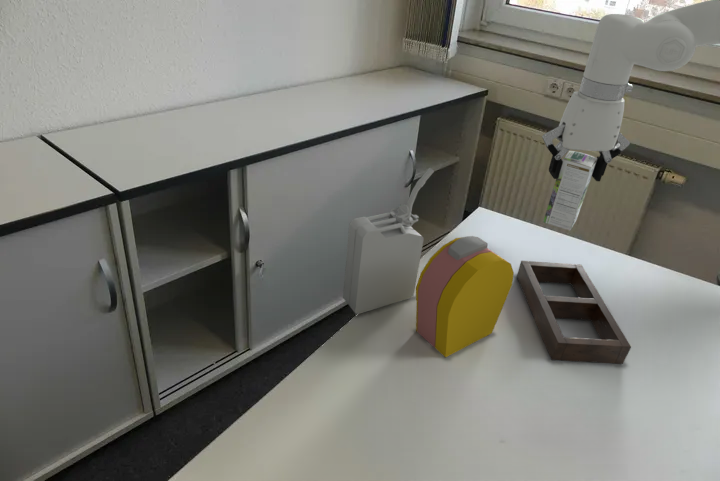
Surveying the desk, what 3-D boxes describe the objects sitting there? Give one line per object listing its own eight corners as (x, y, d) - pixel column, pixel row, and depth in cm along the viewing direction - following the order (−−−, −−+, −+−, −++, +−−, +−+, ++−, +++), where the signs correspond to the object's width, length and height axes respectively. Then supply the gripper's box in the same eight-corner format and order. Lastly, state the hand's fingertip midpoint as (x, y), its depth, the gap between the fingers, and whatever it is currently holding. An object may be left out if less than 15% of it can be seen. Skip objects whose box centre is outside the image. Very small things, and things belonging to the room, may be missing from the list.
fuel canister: (410, 279, 107) (429, 164, 93) (424, 293, 103) (447, 176, 90) (341, 298, 100) (352, 177, 87) (354, 315, 97) (367, 191, 83)
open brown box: (575, 280, 112) (581, 264, 110) (622, 364, 92) (631, 347, 90) (516, 276, 111) (521, 260, 109) (551, 360, 91) (558, 342, 89)
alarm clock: (465, 304, 102) (486, 221, 92) (498, 329, 97) (524, 244, 87) (405, 331, 94) (421, 244, 84) (437, 361, 89) (458, 271, 79)
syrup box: (549, 212, 116) (567, 148, 108) (577, 220, 113) (598, 156, 105) (542, 223, 111) (561, 158, 103) (571, 232, 109) (592, 166, 101)
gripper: (639, 85, 101) (609, 171, 110) (548, 79, 100) (525, 166, 109) (658, 98, 94) (625, 188, 104) (561, 92, 94) (536, 183, 103)
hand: (574, 176), depth 107 cm, fingers closed on syrup box, 7 cm apart
